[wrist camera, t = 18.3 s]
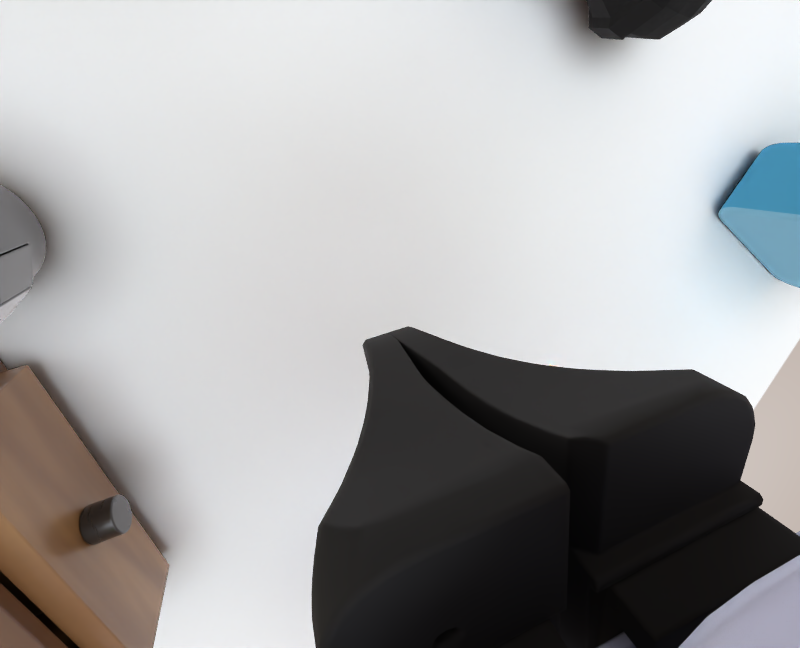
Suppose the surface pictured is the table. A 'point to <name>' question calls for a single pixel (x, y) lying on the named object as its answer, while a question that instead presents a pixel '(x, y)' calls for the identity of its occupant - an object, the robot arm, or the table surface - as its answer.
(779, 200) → the data package
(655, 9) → the microphone
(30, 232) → the dark grey hollow cylinder
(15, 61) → the table surface
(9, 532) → the drawer
